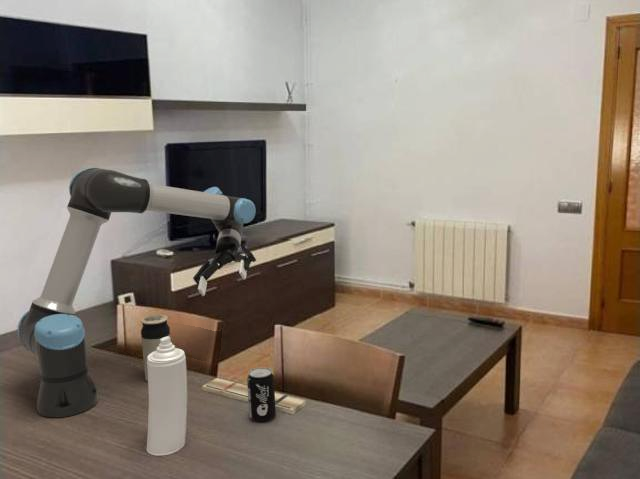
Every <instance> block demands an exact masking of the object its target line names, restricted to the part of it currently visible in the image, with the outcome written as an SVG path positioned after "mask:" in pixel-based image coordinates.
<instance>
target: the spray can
mask: <svg viewBox="0 0 640 479" xmlns="http://www.w3.org/2000/svg"><path fill="white" fill-rule="evenodd" d="M170 339H171V336H170V337H169V336H167V337H163V338H162V339H161V340H160V344H159V346H158V347H157V350H156V351H154V352H152V353H151V354H149V355H148V357H147V359H148V360H147V370H148V381H147V382H148V383H147V388H148V418H147V419H148V420H147V421H148V422H147V441H146V442H147V443H146V451H147V453H148V454H149V455H151V456H157V457H160V456H161V457H162V456H163V457H164V456H168V455H172V454H174V453H177V452H178V451H180V450H181V449H182V448H184V446H185V444H186V432H187V412H188V410H187V408H188V382H187V361H186V360H187V359H186V358H187V357H186V354H185V351H184V350H183V349H181V348H178V347H176V345H174V344H173V342H172V341H171V342H170Z"/></svg>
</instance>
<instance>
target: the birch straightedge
mask: <svg viewBox="0 0 640 479" xmlns="http://www.w3.org/2000/svg"><path fill="white" fill-rule="evenodd" d="M201 387H202V388H201V389H202V391H204V392H208V393H210V394H211V393H212V394H214V395H219V396H223V397H227V398H231V399H233V400H238V401H242V402H245V403H248V404H249V402H248V385H247V384H241V383H238V382H236V381H230V380H227V379H222V378H218V377H216V378H214V379H213V380H211V381H209V382H207V383H205V384H203V385H202V386H201ZM306 404H307V403H306V399H301V398H296V397H292V396H289V395H286V394H282V393H277V392H275V409H276V411H278V412H282V413H286V414H290V415H294V414H295V413H297V412H299V410H301V409H302V408H304V407H306Z"/></svg>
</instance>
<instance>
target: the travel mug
mask: <svg viewBox="0 0 640 479" xmlns="http://www.w3.org/2000/svg"><path fill="white" fill-rule="evenodd" d="M168 319H169V317H168V316H167V315H166V314H152V315H147V316H143V317H142V318H141V319H140V323H141V324H142V328H141V330H140V335H141V336H140V337H141V346H142V357H143V358H142V359H143V368H144V380H145V381H147V382H148V370H147V360H148V359H147V357H148V355H149V354H151V353H152V352H154V351H156V350H157V347H158V346H159V344H160V340H161V339H162V338H163V337H167V336H169V337H170V342H171V343H172V341H171V329H170V326H169V324H168Z"/></svg>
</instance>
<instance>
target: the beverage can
mask: <svg viewBox="0 0 640 479" xmlns="http://www.w3.org/2000/svg"><path fill="white" fill-rule="evenodd" d="M246 382H247V384H246V386H248V402H249V403H248V402H247V403H248V415H249V418H250V419H251V420H253V422H258V423H266V422H269V421H271V420H272V419H273V418H274V417H275V416H276V411H277V410H276V409H275V393H276V392H275V376H274V374H273V371H272V369H271V368H269V367H265V366H262V367H261V366H260V367H259V366H258V367H254V368H252V369H250V370H249V371H248V375H247V378H246Z"/></svg>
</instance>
